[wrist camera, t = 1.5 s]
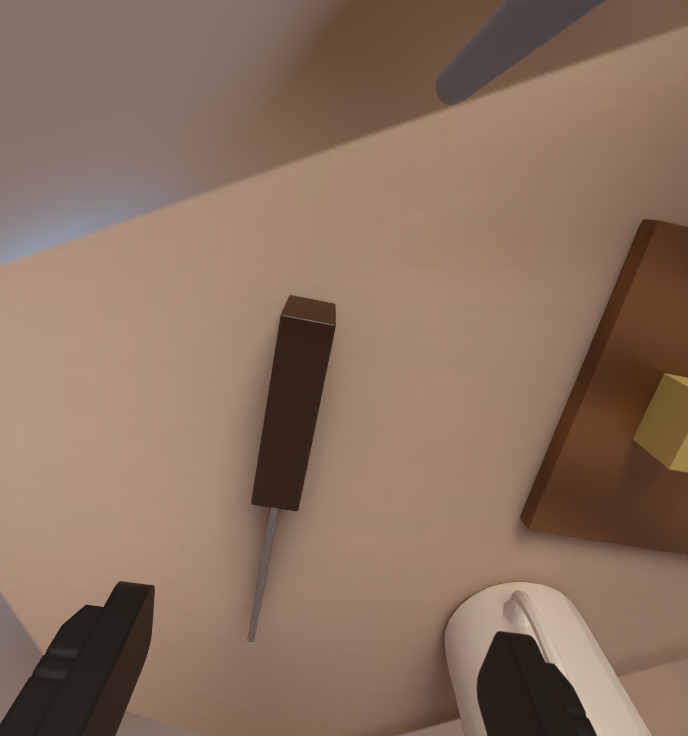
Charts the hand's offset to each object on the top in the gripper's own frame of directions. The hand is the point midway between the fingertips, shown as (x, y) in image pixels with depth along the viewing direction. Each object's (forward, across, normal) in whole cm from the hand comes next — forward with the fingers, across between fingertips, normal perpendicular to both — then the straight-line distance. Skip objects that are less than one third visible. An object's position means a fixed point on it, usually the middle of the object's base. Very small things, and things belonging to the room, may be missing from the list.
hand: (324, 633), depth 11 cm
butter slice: (+14, -18, -2) cm, 23 cm away
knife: (+15, +2, +6) cm, 17 cm away
